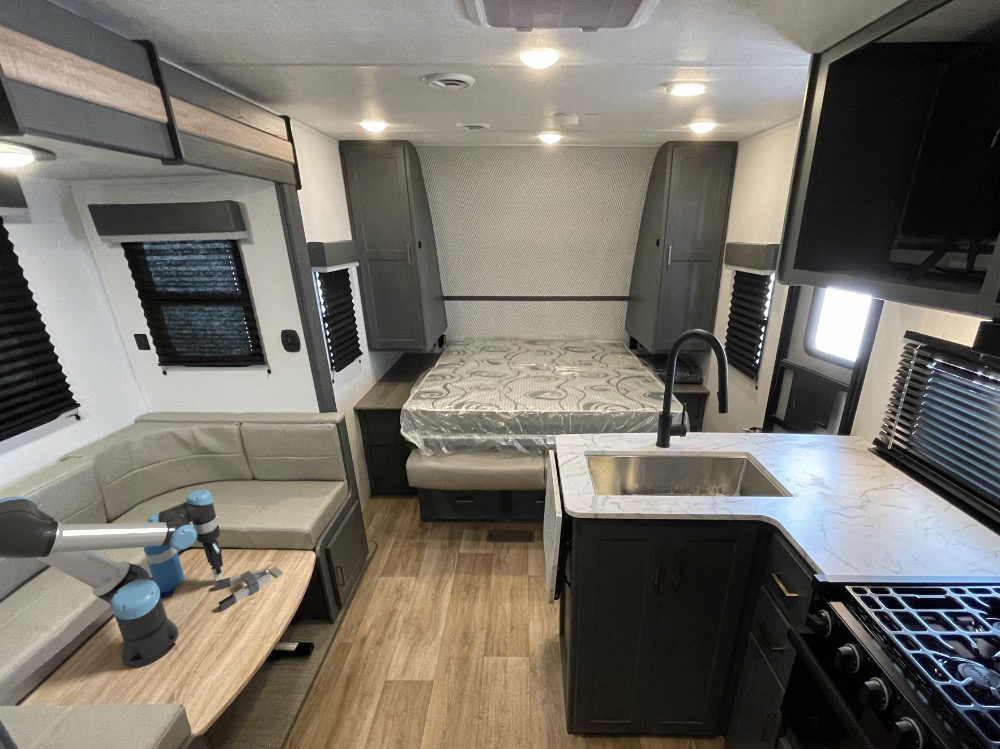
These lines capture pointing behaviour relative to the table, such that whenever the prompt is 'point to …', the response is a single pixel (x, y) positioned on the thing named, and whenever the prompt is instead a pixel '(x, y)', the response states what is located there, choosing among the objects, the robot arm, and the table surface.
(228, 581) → the arm
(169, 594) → the smartphone
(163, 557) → the water bottle
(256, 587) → the collar
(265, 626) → the table surface
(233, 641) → the table surface
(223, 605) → the tongs fixed
